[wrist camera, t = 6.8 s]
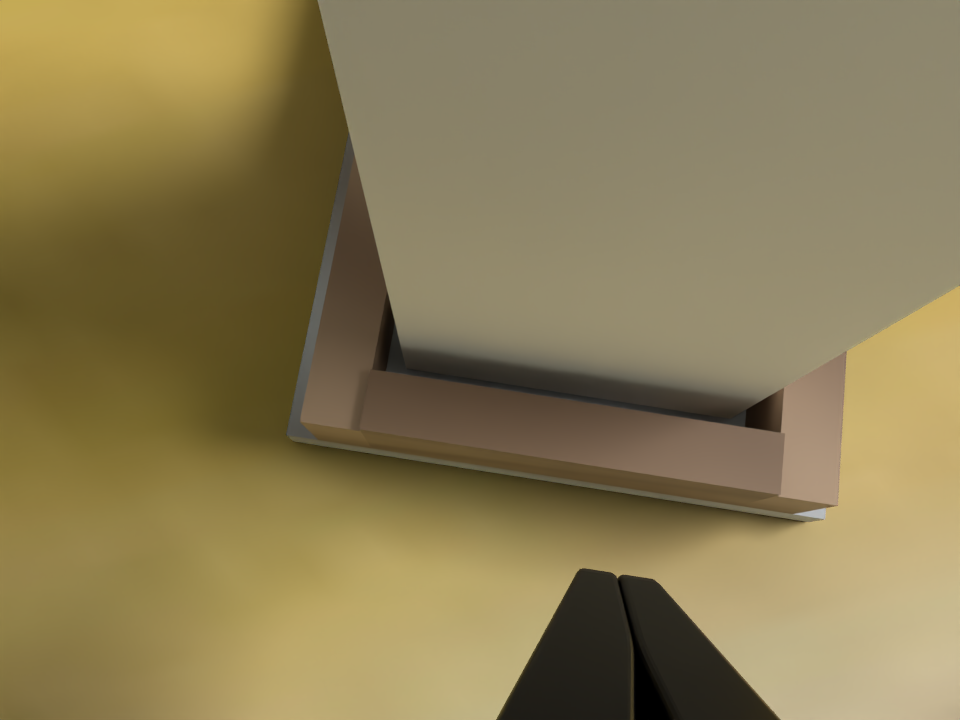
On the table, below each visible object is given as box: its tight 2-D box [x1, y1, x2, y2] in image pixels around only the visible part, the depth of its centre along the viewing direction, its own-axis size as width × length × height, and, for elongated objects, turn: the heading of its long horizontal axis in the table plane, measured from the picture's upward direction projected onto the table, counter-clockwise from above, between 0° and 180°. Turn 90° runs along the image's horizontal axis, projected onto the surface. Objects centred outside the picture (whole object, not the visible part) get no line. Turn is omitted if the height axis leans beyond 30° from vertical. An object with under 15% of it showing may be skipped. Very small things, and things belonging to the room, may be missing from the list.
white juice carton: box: [318, 0, 960, 419], centre depth 11 cm, size 6×6×13 cm
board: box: [286, 133, 847, 522], centre depth 18 cm, size 18×10×3 cm, turn 171°
